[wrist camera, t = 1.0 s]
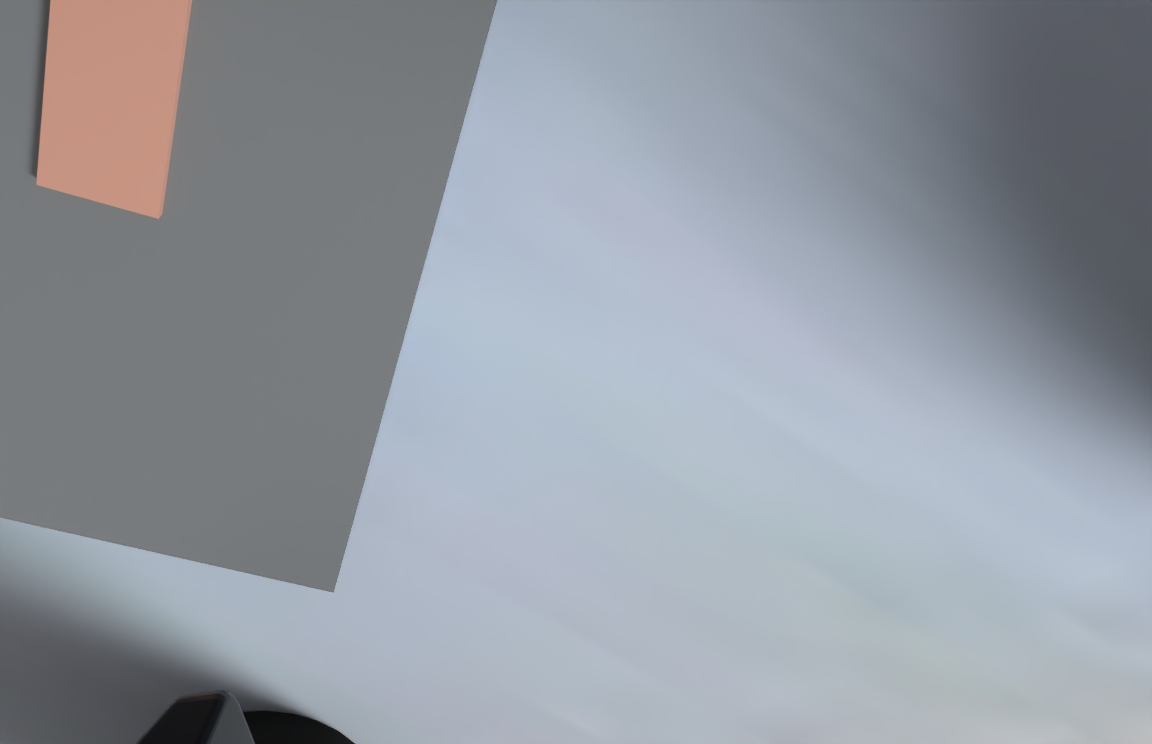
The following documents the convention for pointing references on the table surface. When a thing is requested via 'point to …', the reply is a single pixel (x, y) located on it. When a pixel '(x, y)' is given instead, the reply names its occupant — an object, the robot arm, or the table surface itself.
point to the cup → (290, 729)
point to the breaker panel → (215, 261)
